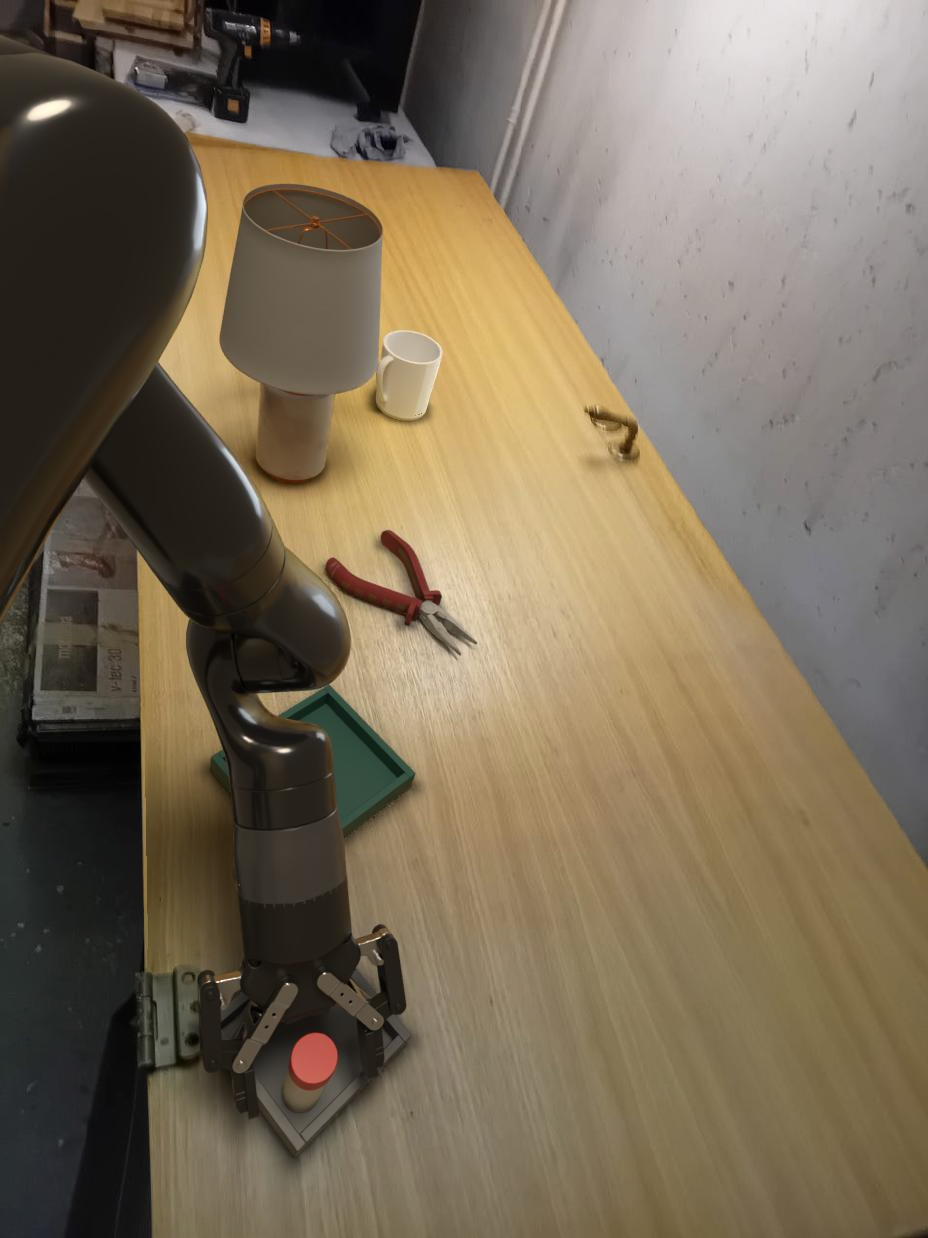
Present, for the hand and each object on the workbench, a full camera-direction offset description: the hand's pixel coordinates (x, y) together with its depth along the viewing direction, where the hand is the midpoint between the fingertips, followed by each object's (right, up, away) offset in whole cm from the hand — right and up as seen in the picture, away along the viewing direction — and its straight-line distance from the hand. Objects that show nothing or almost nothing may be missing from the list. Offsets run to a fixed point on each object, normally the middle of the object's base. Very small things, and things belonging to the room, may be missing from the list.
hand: (312, 1091), depth 59 cm
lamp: (-13, +55, +54) cm, 78 cm away
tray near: (-2, 0, +8) cm, 8 cm away
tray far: (-4, +18, +23) cm, 30 cm away
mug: (0, +67, +69) cm, 96 cm away
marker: (-2, -3, +5) cm, 6 cm away
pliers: (+2, +36, +42) cm, 55 cm away
